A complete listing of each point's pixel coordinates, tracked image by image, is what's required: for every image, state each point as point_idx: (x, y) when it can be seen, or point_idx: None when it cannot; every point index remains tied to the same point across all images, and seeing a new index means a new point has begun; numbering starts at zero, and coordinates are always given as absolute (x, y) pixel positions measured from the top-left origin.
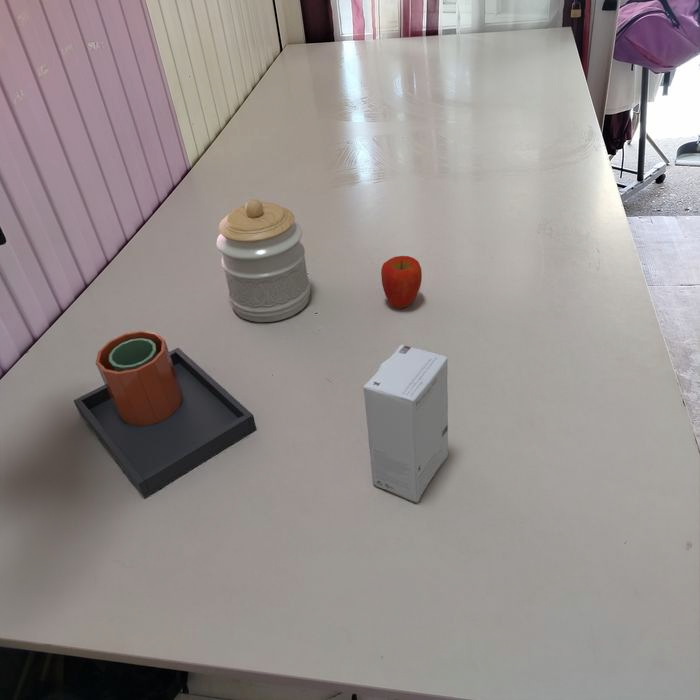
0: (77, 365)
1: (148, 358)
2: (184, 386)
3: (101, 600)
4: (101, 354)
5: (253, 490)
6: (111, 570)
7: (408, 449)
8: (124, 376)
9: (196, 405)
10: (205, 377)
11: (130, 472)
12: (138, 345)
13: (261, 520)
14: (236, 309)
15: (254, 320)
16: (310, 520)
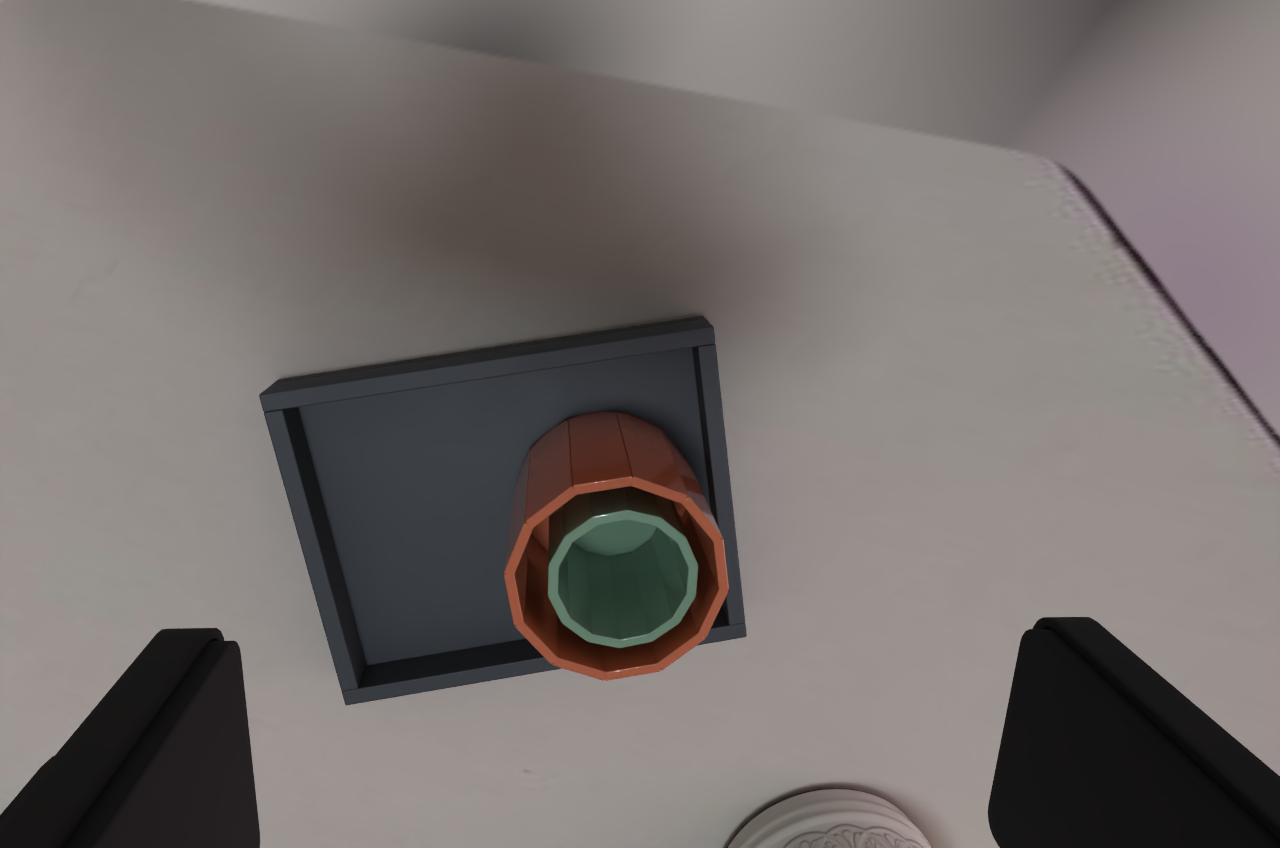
0: (932, 361)
1: (558, 612)
2: None
3: (8, 203)
4: (674, 499)
5: (165, 600)
6: (88, 247)
7: None
8: (519, 529)
9: None
10: None
11: (311, 389)
12: (675, 596)
13: (66, 583)
14: (819, 805)
15: (760, 815)
16: (14, 667)
